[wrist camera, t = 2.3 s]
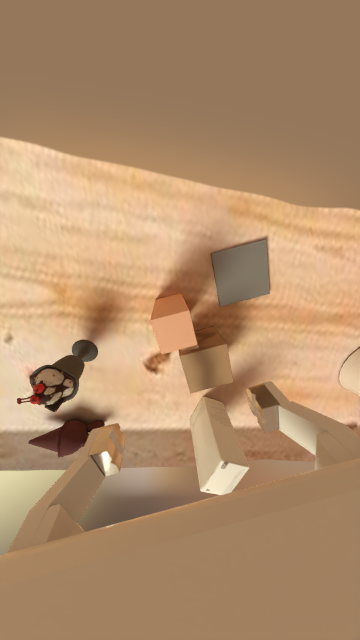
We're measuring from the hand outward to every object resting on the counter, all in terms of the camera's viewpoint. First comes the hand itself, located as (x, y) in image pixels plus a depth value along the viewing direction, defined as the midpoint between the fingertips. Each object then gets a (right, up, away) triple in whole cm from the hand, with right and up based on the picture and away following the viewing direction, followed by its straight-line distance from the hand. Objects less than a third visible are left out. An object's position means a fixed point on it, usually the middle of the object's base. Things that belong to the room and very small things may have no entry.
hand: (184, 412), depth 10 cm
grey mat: (+11, +14, +21) cm, 28 cm away
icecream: (-26, -20, +30) cm, 44 cm away
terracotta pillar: (-2, +8, +23) cm, 24 cm away
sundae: (-20, -1, +24) cm, 31 cm away
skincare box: (+6, -17, +32) cm, 37 cm away
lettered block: (+4, 0, +26) cm, 26 cm away
